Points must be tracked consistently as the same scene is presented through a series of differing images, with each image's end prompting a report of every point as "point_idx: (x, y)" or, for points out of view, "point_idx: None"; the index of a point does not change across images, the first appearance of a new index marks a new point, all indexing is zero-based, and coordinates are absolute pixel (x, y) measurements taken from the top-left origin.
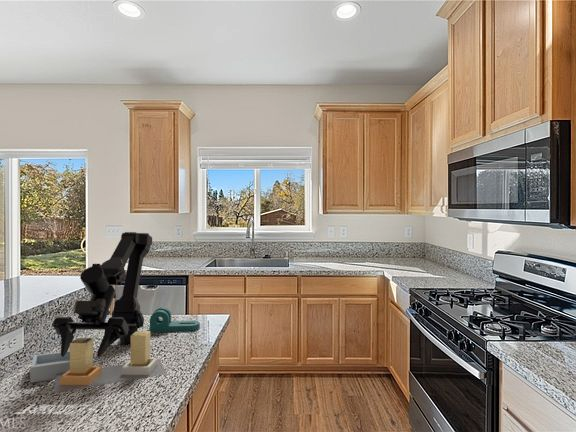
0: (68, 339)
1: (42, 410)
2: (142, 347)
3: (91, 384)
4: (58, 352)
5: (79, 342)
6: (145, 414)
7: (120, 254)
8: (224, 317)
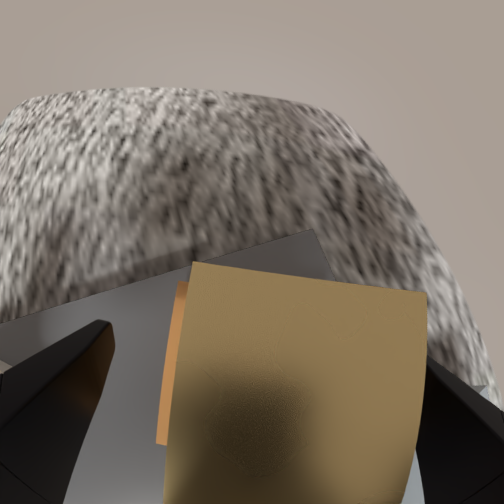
0: (470, 483)
1: (297, 166)
2: None
3: (171, 295)
4: None
5: (312, 310)
6: (28, 133)
7: None
8: None
